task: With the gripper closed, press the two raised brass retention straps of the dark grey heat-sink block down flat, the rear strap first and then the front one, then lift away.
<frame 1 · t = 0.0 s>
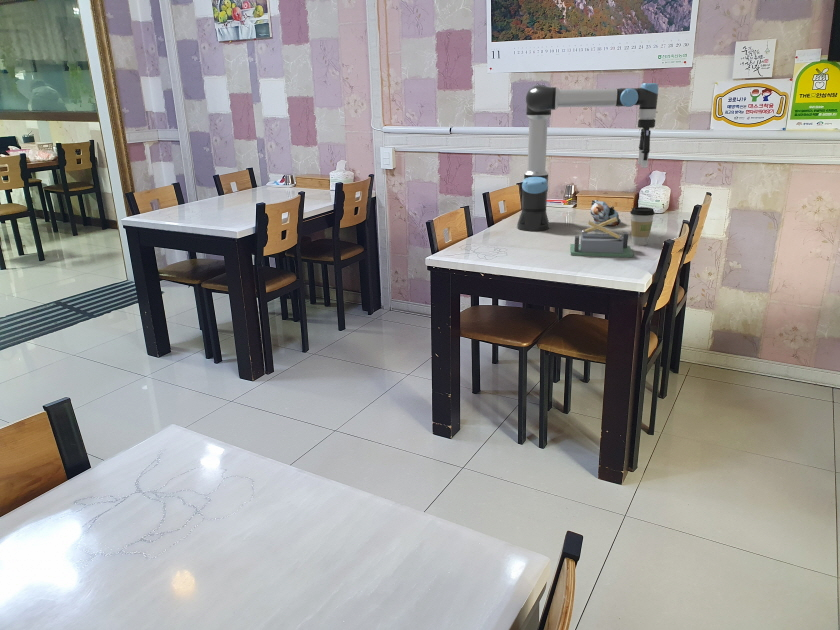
hand: (642, 165, 308), 28 cm above the table, tool pointing down, fingers open, 13 cm apart
heatsink module: (600, 251, 267), on the table
rear strap: (599, 225, 269), point 10 cm above the table, hinge at 25.0°
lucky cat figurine: (604, 224, 320), on the table
coffee cup: (639, 244, 279), on the table
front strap: (605, 230, 260), point 10 cm above the table, hinge at 25.0°
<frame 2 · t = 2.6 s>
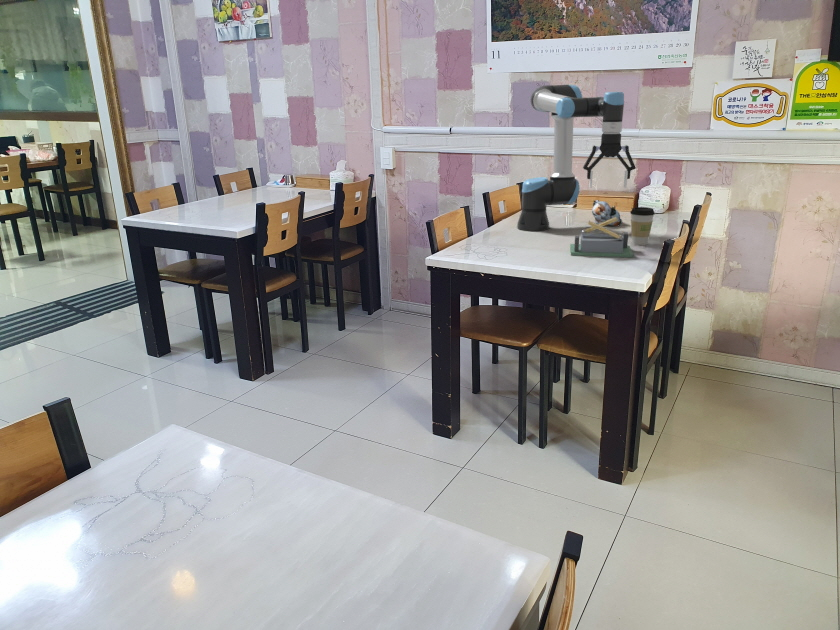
hand: (607, 187, 265), 25 cm above the table, tool pointing down, fingers open, 13 cm apart
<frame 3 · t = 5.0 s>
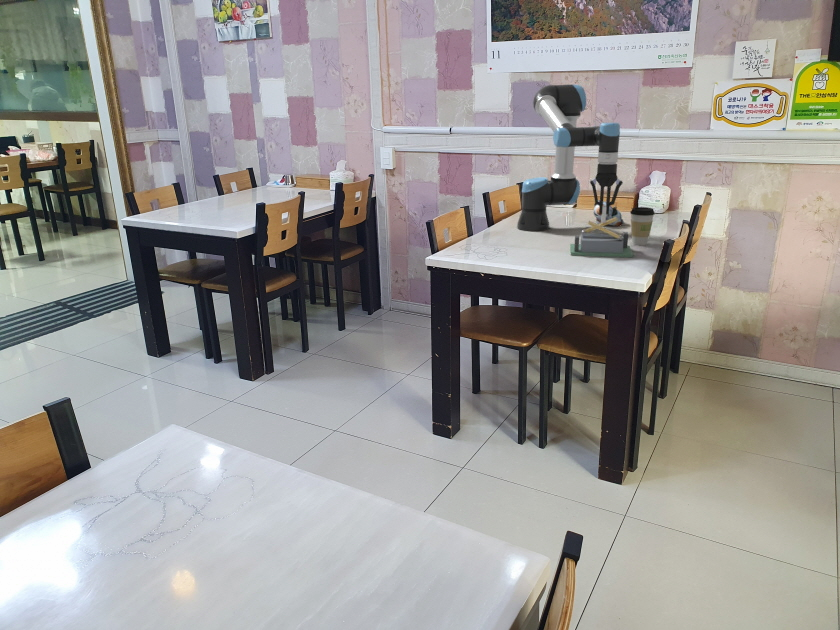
hand: (603, 221, 268), 11 cm above the table, tool pointing down, fingers closed
rear strap: (599, 225, 269), point 10 cm above the table, hinge at 25.0°, touching gripper
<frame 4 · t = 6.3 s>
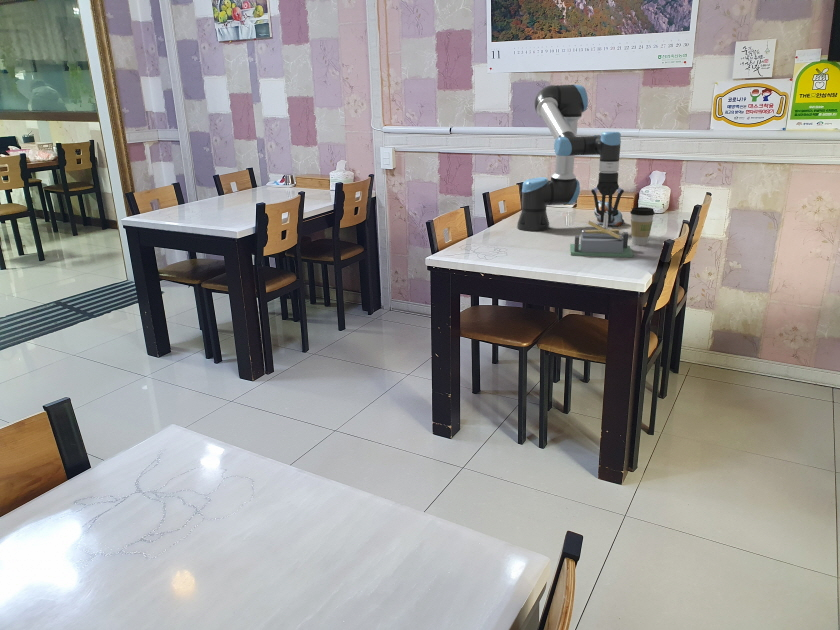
hand: (604, 230, 269), 8 cm above the table, tool pointing down, fingers closed
rear strap: (600, 231, 269), point 7 cm above the table, hinge at 3.4°, touching gripper
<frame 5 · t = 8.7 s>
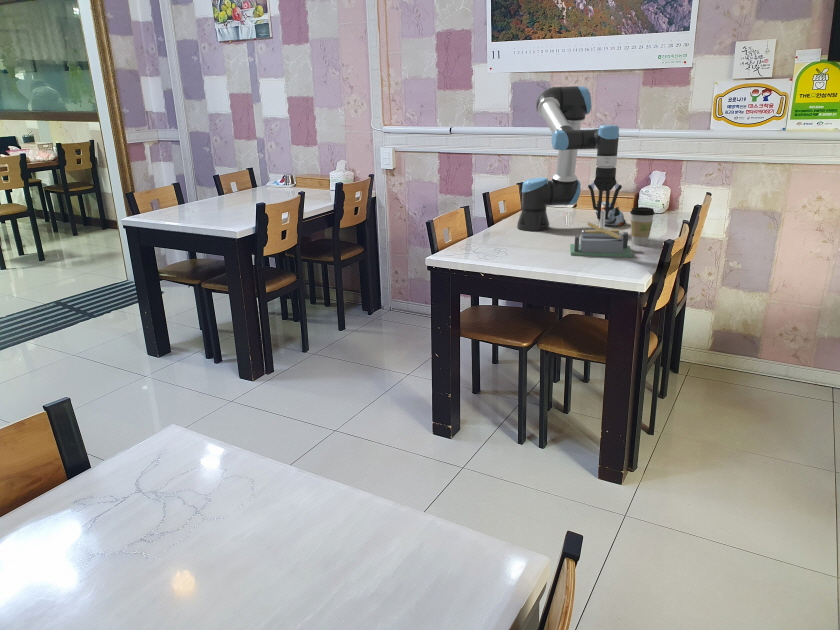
hand: (601, 227, 260), 11 cm above the table, tool pointing down, fingers closed
rear strap: (600, 231, 269), point 7 cm above the table, hinge at 3.4°
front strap: (605, 231, 260), point 10 cm above the table, hinge at 22.7°, touching gripper
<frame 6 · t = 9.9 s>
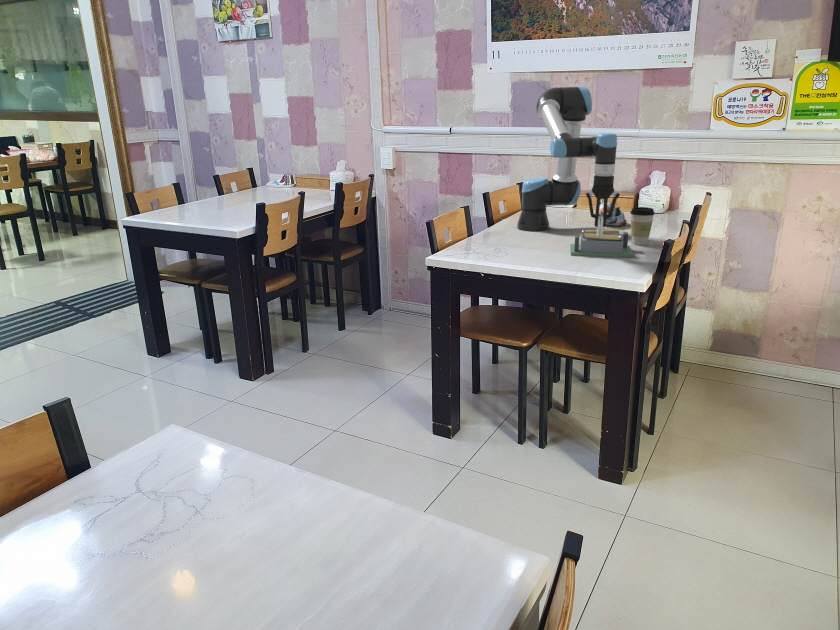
hand: (599, 234, 261), 8 cm above the table, tool pointing down, fingers closed, pressing on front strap
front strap: (603, 236, 261), point 7 cm above the table, hinge at 2.9°, touching gripper
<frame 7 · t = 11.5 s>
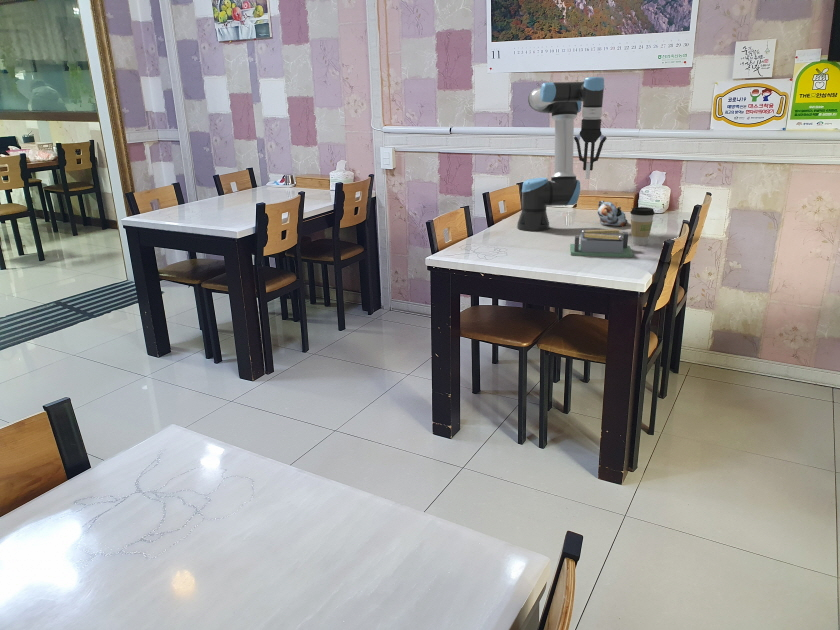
hand: (587, 178, 267), 28 cm above the table, tool pointing down, fingers closed
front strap: (603, 236, 261), point 7 cm above the table, hinge at 2.9°
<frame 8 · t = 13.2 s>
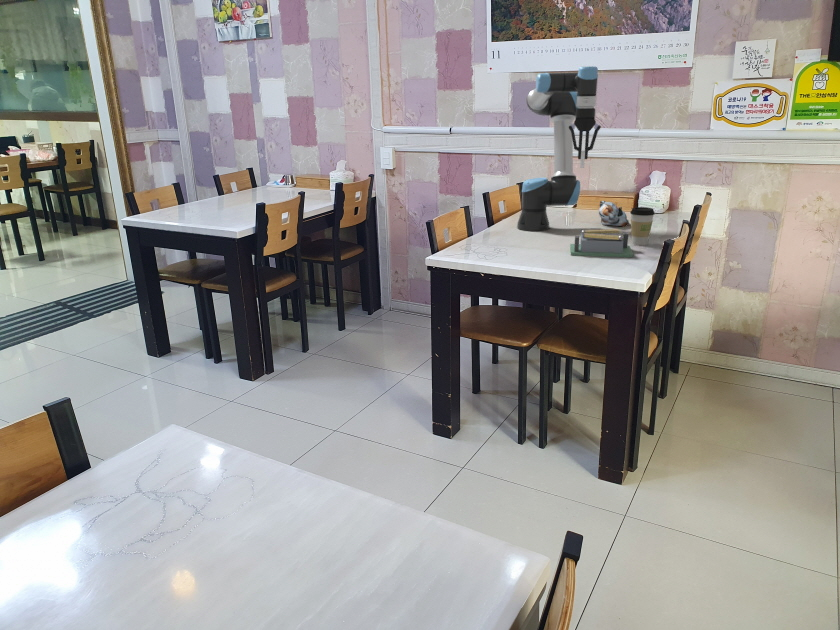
hand: (582, 167, 270), 32 cm above the table, tool pointing down, fingers closed
at the end: rear strap at +3° (first picture: +25°); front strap at +3° (first picture: +25°) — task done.
